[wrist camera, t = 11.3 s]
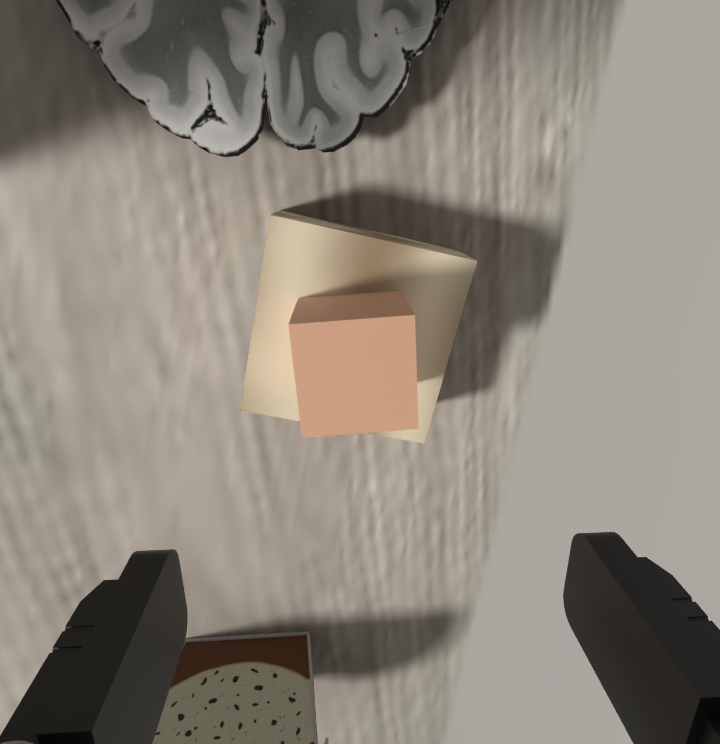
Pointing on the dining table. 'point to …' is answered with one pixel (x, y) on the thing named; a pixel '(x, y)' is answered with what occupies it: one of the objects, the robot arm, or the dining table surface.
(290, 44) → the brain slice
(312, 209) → the dining table surface
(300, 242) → the birch block
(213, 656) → the food container
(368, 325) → the terracotta cube
